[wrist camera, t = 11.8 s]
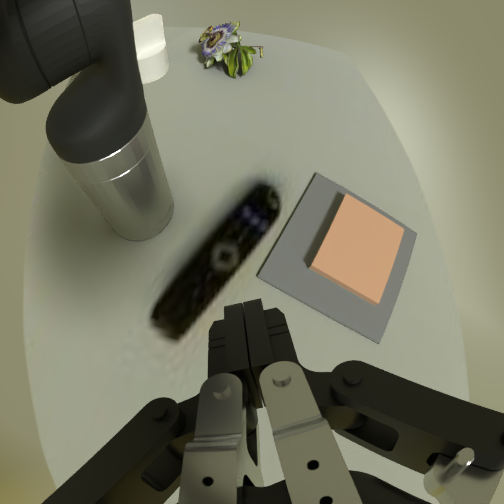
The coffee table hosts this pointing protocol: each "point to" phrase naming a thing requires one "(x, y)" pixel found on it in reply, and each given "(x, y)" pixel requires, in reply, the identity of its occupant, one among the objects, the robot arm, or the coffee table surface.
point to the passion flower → (227, 48)
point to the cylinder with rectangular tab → (150, 48)
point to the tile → (358, 250)
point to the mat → (315, 286)
